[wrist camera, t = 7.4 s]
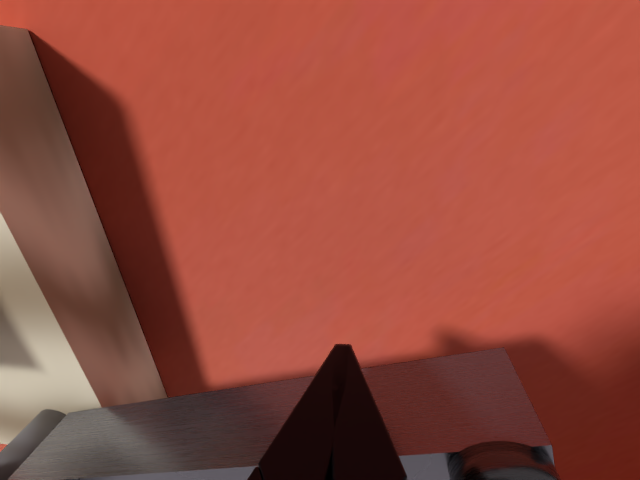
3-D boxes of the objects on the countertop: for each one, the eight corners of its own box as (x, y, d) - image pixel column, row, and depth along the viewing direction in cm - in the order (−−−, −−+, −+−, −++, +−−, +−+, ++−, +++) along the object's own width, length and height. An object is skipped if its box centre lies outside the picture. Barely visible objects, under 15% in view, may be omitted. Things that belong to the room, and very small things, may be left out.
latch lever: (95, 441, 13) (17, 544, 10) (64, 408, 13) (-30, 508, 10) (512, 394, 9) (580, 547, 6) (502, 339, 8) (574, 485, 5)
